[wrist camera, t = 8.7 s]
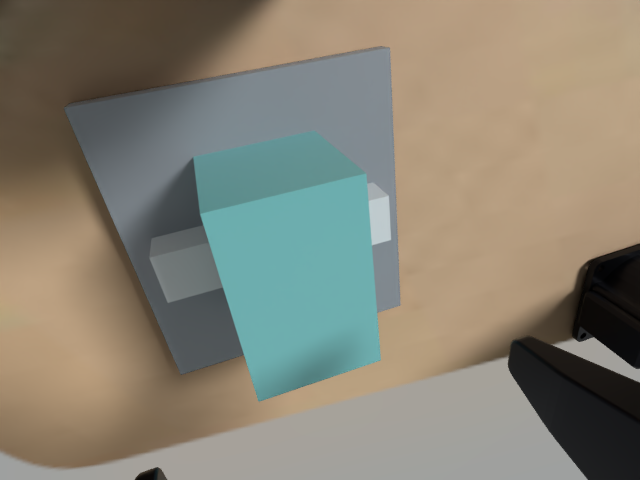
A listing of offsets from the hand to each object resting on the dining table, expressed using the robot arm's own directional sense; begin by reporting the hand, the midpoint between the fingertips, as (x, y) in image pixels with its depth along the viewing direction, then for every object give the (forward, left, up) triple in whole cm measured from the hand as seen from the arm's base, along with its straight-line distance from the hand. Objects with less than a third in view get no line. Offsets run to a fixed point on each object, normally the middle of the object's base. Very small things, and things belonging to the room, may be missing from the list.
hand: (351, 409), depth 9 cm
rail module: (0, 0, -9) cm, 9 cm away
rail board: (0, 0, -10) cm, 10 cm away
